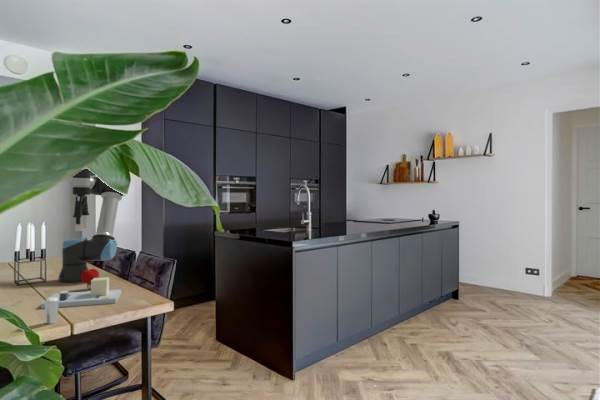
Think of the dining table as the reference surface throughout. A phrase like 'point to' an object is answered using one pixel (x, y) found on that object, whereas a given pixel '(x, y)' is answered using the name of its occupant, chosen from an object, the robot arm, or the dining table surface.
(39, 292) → the dining table surface
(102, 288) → the cap
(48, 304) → the milkshake
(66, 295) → the breaker
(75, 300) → the panel
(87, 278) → the light bulb
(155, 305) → the dining table surface
